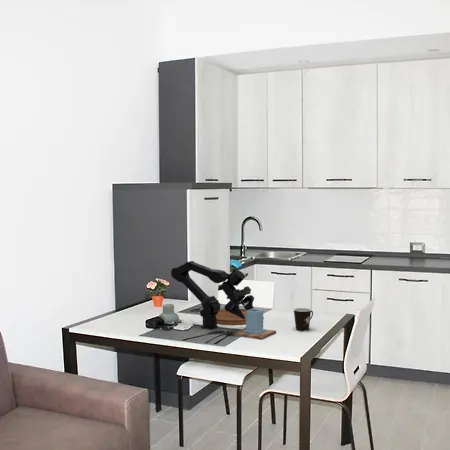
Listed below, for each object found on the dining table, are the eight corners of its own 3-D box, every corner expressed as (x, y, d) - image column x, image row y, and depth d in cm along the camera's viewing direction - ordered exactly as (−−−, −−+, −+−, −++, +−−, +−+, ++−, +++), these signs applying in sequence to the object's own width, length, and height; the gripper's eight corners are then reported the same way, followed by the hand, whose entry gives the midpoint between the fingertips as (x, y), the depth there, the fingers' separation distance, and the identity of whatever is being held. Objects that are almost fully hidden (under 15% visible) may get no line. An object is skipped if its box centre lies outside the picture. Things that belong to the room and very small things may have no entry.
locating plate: (233, 335, 295) (233, 326, 295) (247, 329, 307) (247, 321, 307) (262, 339, 287) (262, 330, 286) (276, 333, 298) (276, 324, 298)
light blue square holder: (243, 332, 296) (243, 310, 295) (252, 329, 302) (252, 308, 301) (256, 334, 291) (256, 312, 291) (265, 331, 298) (265, 309, 297)
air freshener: (156, 323, 323) (156, 304, 322) (169, 320, 328) (169, 302, 327) (167, 326, 314) (167, 307, 314) (180, 324, 319) (180, 305, 319)
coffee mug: (297, 332, 300) (297, 312, 299) (291, 328, 308) (290, 308, 307) (319, 330, 303) (319, 310, 302) (312, 326, 311) (312, 307, 311)
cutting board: (243, 328, 310) (243, 323, 310) (192, 321, 328) (192, 316, 328) (274, 316, 337) (274, 312, 337) (225, 310, 354) (225, 306, 354)
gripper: (229, 284, 292) (248, 310, 287) (251, 279, 307) (269, 303, 302) (216, 298, 298) (234, 324, 292) (238, 292, 313) (256, 317, 307)
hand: (249, 316), depth 298 cm, fingers open, 9 cm apart
